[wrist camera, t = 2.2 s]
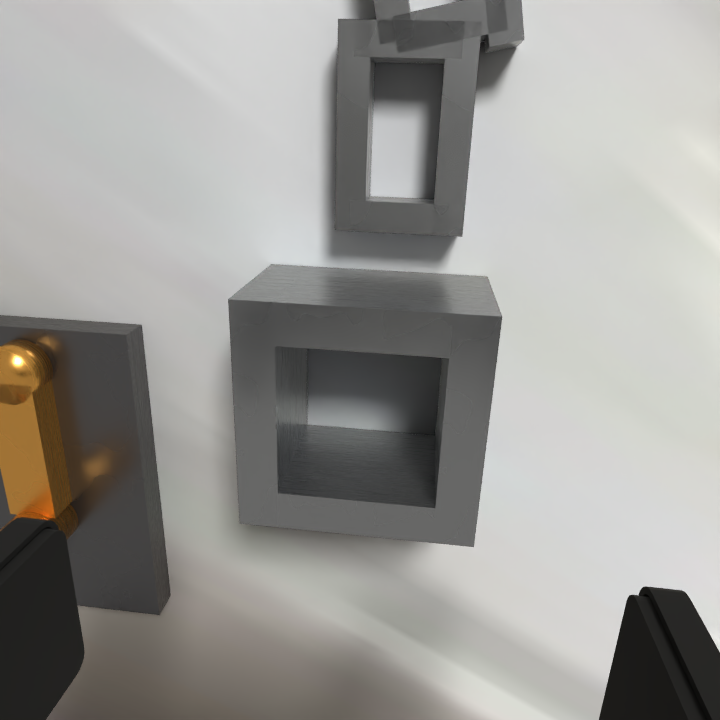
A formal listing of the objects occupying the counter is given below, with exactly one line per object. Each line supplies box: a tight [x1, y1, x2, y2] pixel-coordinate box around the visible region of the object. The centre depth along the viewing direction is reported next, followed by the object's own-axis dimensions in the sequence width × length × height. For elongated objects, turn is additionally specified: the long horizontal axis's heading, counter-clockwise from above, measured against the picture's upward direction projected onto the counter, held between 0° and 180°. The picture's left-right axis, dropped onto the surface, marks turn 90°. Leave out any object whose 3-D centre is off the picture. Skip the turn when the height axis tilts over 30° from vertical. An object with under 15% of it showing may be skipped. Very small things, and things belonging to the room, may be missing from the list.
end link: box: [228, 264, 502, 547], centre depth 17 cm, size 6×6×4 cm
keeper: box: [0, 315, 170, 615], centre depth 19 cm, size 11×7×6 cm, turn 178°
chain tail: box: [335, 0, 524, 237], centre depth 15 cm, size 10×4×1 cm, turn 178°
